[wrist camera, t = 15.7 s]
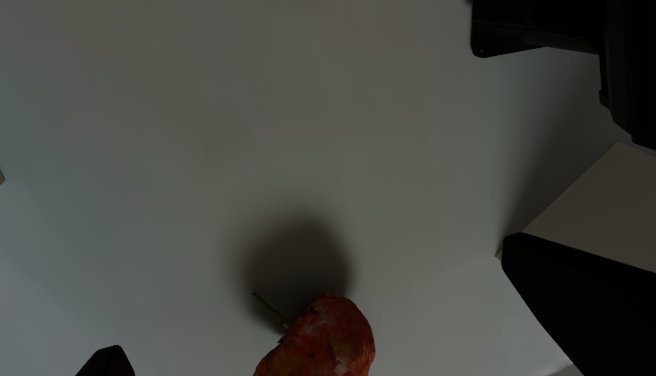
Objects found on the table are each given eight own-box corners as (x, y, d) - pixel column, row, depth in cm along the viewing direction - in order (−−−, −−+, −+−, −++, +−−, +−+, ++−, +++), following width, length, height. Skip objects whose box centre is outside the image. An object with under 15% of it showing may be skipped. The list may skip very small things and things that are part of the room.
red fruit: (233, 319, 28) (332, 429, 26) (184, 352, 21) (317, 506, 19) (306, 244, 28) (410, 350, 26) (282, 251, 21) (424, 398, 19)
